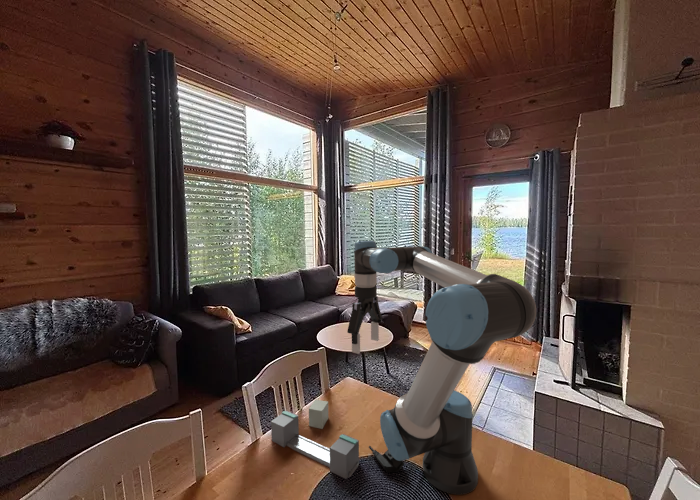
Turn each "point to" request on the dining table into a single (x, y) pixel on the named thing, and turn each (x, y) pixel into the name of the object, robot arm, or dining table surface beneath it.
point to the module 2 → (318, 414)
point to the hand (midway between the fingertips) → (365, 346)
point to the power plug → (387, 461)
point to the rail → (314, 451)
